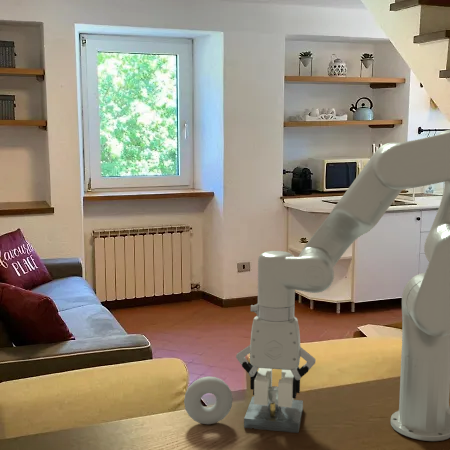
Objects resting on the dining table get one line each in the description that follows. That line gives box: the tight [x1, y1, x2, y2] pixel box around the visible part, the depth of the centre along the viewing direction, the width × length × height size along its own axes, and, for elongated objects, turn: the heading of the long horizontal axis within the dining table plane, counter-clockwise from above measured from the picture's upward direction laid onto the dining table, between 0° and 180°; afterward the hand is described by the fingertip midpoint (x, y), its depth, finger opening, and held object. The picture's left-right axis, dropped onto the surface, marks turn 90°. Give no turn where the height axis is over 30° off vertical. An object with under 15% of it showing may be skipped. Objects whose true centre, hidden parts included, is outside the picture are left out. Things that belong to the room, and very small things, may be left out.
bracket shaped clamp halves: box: [253, 368, 294, 407], centre depth 131 cm, size 8×8×5 cm
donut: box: [183, 376, 234, 425], centre depth 129 cm, size 10×4×10 cm, turn 98°
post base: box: [243, 385, 304, 434], centre depth 131 cm, size 11×11×6 cm
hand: (275, 393), depth 131 cm, fingers closed on bracket shaped clamp halves, 7 cm apart
